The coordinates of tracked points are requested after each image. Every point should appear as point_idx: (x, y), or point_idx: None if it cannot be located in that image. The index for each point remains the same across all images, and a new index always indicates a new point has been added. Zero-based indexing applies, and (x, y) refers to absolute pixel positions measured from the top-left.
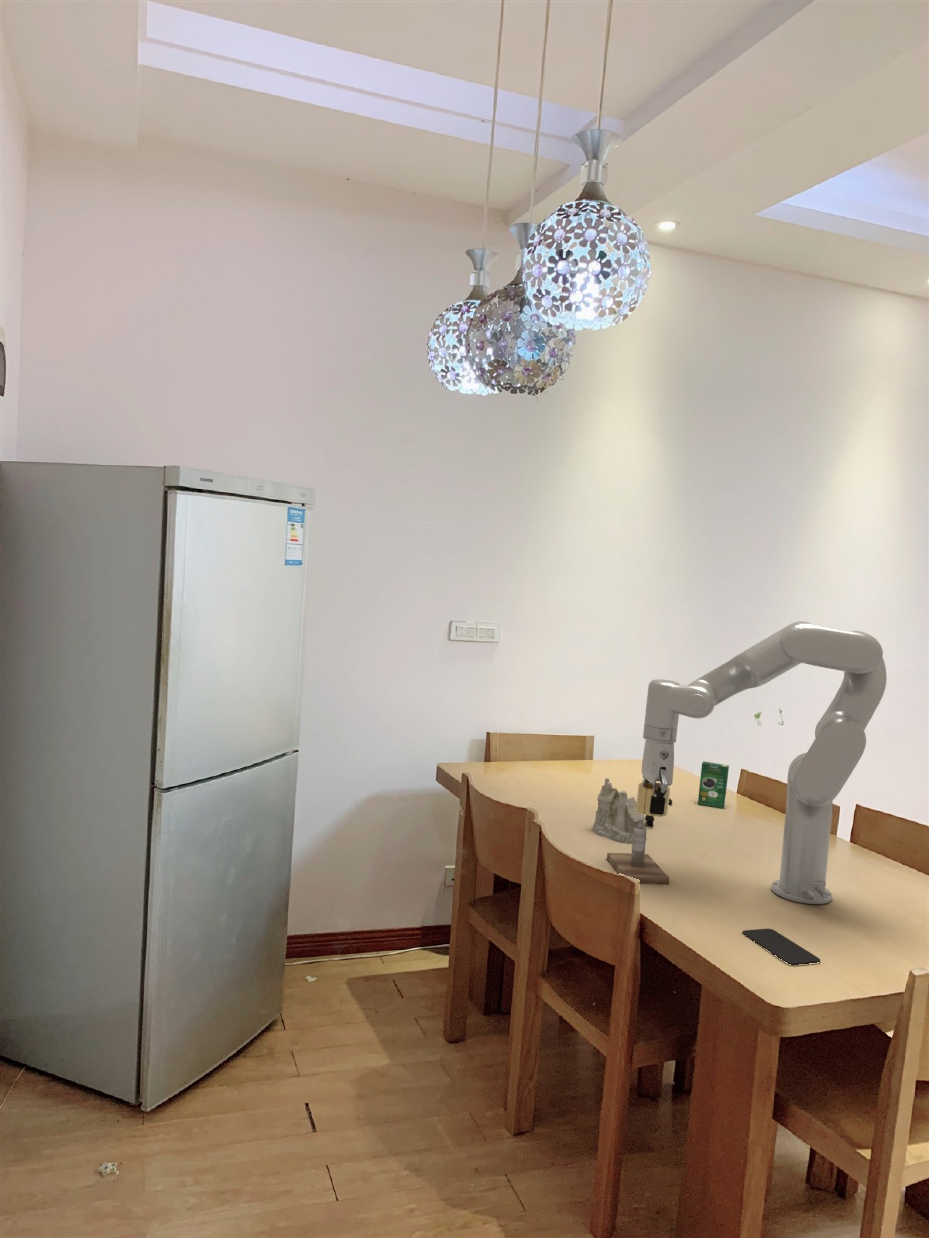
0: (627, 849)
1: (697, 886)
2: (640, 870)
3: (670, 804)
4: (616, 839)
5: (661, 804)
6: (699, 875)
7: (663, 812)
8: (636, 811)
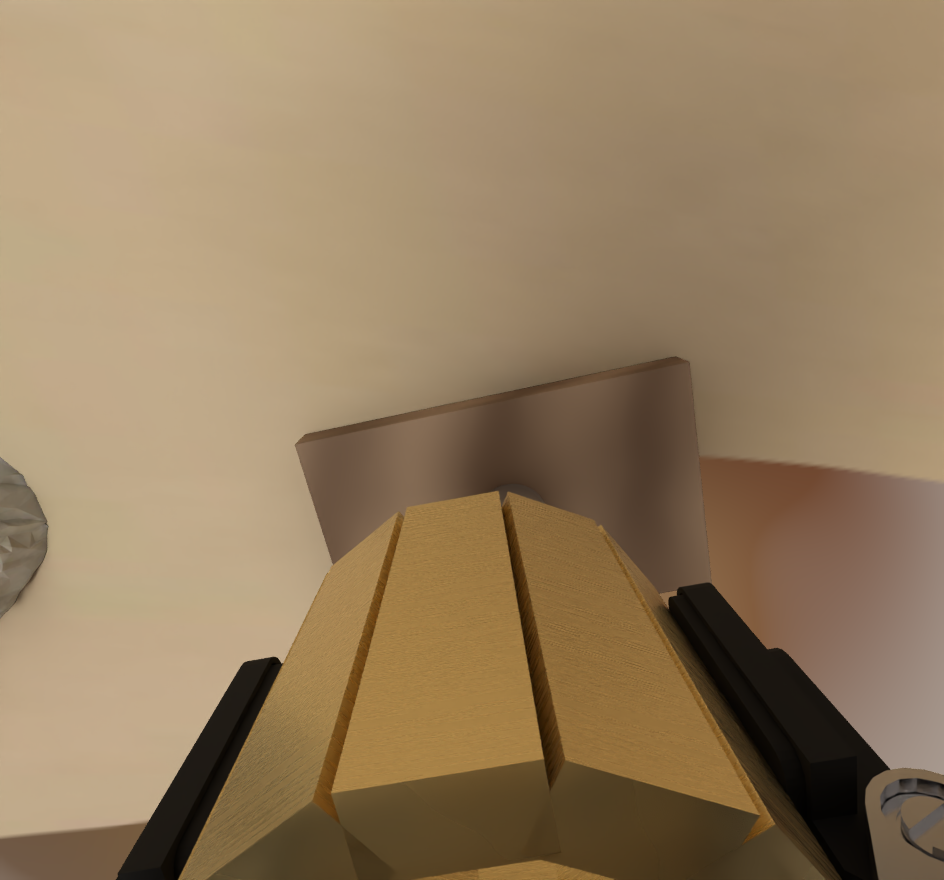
0: (159, 525)
1: (680, 190)
2: (602, 507)
3: None
4: (29, 578)
5: (833, 716)
6: (480, 145)
7: (715, 592)
8: None
